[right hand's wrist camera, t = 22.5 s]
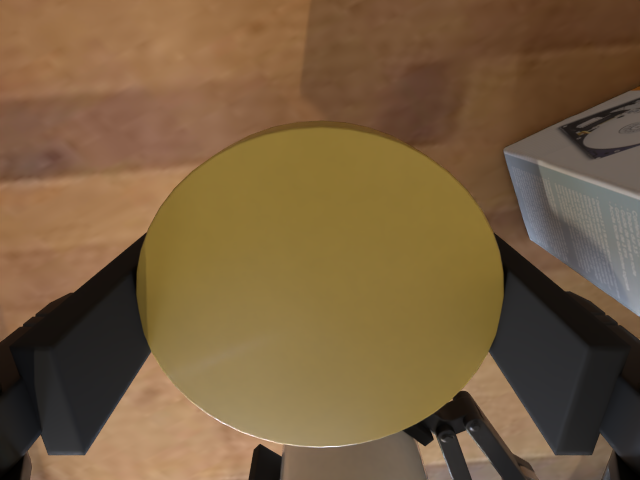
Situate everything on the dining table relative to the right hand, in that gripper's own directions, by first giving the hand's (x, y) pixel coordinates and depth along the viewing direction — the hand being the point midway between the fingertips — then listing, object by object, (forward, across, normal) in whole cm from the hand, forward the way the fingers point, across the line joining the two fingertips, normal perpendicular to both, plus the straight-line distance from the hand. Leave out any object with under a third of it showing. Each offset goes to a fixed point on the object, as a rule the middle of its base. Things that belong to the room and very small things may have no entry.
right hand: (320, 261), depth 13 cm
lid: (-3, 0, 0) cm, 3 cm away
